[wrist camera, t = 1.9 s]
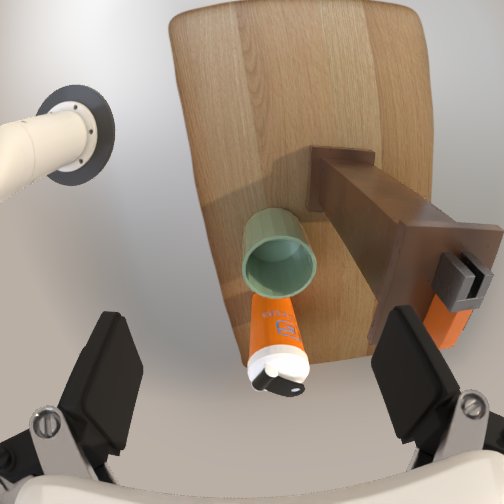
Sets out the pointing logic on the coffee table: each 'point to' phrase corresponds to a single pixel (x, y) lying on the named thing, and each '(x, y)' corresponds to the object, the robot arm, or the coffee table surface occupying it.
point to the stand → (390, 229)
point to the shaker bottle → (276, 348)
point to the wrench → (455, 296)
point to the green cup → (276, 254)
